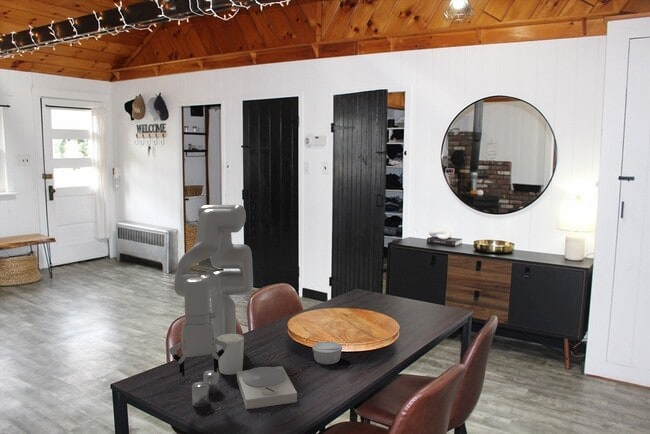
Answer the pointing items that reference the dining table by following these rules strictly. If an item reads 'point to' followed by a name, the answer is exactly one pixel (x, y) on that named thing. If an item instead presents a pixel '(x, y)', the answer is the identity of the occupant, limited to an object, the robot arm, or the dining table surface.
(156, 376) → the dining table surface
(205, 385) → the disc
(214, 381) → the cylinder
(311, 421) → the dining table surface
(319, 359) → the ramekin
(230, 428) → the dining table surface
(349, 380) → the dining table surface
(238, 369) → the candle holder
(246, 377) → the scale
